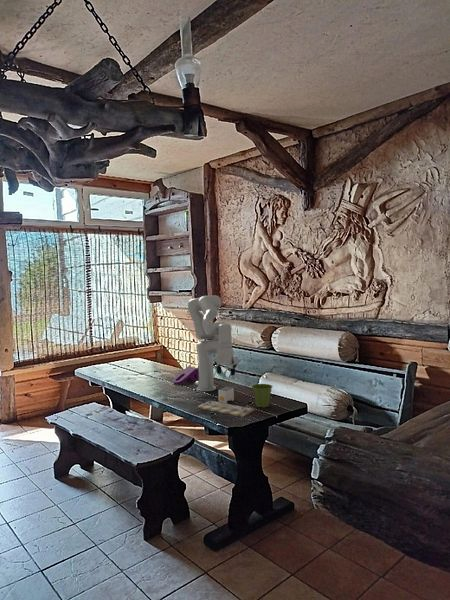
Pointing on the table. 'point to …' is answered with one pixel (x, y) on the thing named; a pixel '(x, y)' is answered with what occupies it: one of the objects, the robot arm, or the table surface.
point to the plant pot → (262, 394)
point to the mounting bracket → (187, 375)
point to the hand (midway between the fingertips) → (226, 374)
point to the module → (226, 394)
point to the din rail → (226, 406)
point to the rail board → (227, 411)
